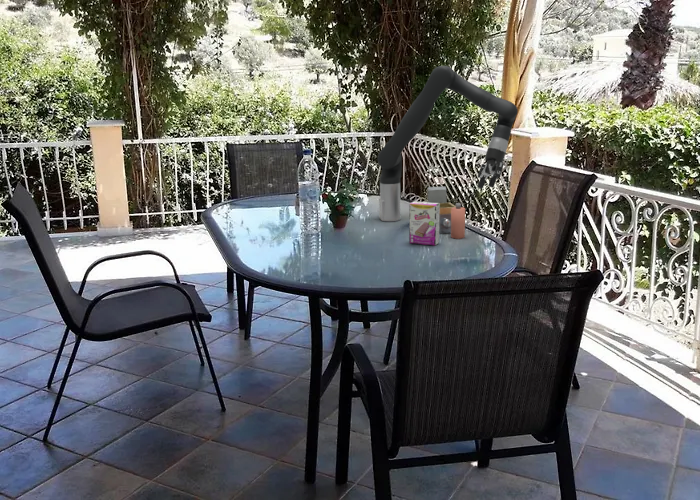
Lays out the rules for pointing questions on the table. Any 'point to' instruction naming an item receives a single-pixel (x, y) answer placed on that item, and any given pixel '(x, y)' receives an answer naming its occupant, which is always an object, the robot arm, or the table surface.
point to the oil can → (458, 222)
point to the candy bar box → (424, 223)
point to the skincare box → (437, 194)
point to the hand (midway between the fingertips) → (485, 187)
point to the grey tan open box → (445, 217)
